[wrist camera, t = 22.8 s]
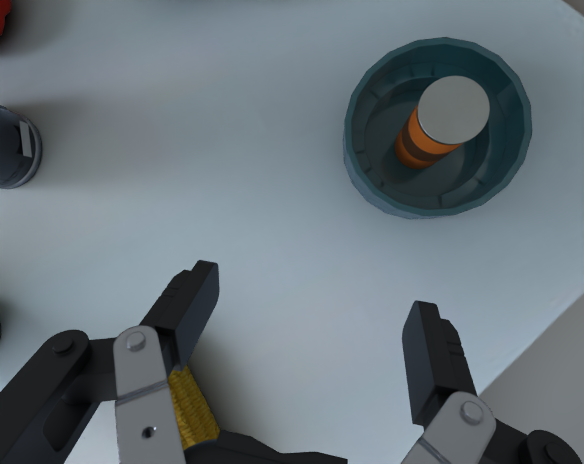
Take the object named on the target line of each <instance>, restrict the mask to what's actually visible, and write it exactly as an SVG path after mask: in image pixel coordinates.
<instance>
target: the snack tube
mask: <svg viewBox="0 0 584 464" xmlns="http://www.w3.org/2000/svg"><path fill="white" fill-rule="evenodd" d="M489 112H490V106H489V100H488V97H487V94H486V93H485V91H484V90H483V88H482V87H481V86H480V85H479V84H478V83H476V82H475V81H473V80H471V79H469V78H467V77H463V76H448V77H444V78H441V79H439V80H437V81H435V82H434V83H432V84H431V85H430V86H429V87H428V88H427V89H426V90H425V91H424V93H423V94H422V96H421V97H420V100H419V102H418V104H417V106H416V107H415V108H414V110H413V111H412V113H411V114H410V116H409V117H408V119H407V120H406V122H405V124H404V126H403V128H402V129H401V131H400V132H399V134H398V136H397V138H396V140H395V153H396V156H397V157H398V159H399V160H400V162H401V163H402V164H404V165H405V166H407V167H409V168H412V169H424V168H427V167H430V166H431V165H433V164H434V163H436V162H437V161H439V160H440V159H442V158H444V157H445V156H447V155H448V154H450V153H451V152H452V151H454V150H455V149H457V148H458V147H459V146H460V145H461V144H463V143H465V142H467V141H469V140H471V139H472V138H474V137H475V136H476V135H477V134H479V133H480V132H481V130H482V129H483V128H484V126H485V125H486V122H487V120H488V117H489Z"/></svg>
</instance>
